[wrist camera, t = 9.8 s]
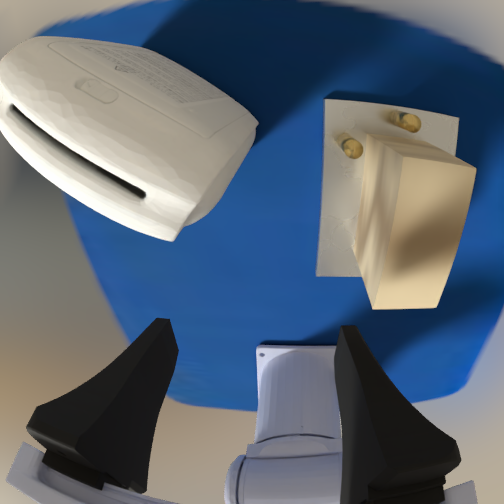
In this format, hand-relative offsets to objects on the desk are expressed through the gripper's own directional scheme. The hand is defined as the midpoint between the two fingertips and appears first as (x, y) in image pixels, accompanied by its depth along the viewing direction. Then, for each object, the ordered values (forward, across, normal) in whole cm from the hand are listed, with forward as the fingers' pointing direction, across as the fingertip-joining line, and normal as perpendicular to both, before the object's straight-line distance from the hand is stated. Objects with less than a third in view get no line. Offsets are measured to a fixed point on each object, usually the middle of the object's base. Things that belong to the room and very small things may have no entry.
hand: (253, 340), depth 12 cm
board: (+9, -8, -3) cm, 13 cm away
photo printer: (+10, +5, -9) cm, 14 cm away
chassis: (+10, -8, -3) cm, 13 cm away
